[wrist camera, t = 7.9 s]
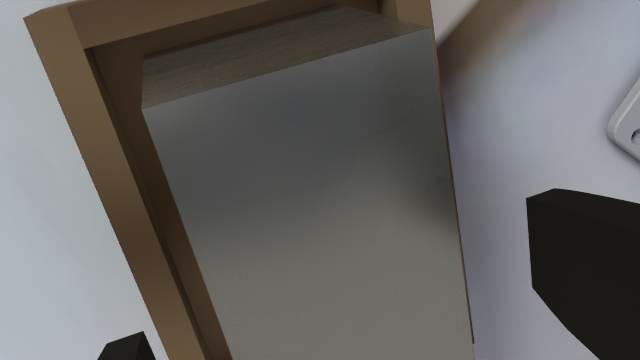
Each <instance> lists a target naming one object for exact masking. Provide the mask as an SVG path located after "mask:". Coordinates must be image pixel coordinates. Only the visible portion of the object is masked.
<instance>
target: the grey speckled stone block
mask: <svg viewBox="0 0 640 360" xmlns="http://www.w3.org/2000/svg"><path fill="white" fill-rule="evenodd" d="M141 110H142V113H143V115H144V118H145V121H146V124H147V126H148V129H149V132H150V135H151V137H152V140H153V143H154V145H155V148H156V151H157V154H158V156H159V159H160V162H161V165H162V167H163V170H164V173H165V175H166V178H167V181H168V184H169V186H170V189H171V192H172V195H173V197H174V200H175V203H176V206H177V208H178V211H179V214H180V216H181V219H182V222H183V225H184V227H185V230H186V233H187V236H188V238H189V241H190V244H191V246H192V249H193V252H194V255H195V257H196V260H197V263H198V266H199V268H200V271H201V274H202V276H203V279H204V282H205V285H206V287H207V290H208V293H209V296H210V298H211V301H212V304H213V307H214V309H215V312H216V315H217V317H218V320H219V323H220V326H221V328H222V331H223V334H224V337H225V339H226V342H227V345H228V347H229V350H230V353H231V356H232V358H233V360H475V358H474V351H473V343H472V335H471V328H470V320H469V312H468V305H467V297H466V289H465V282H464V274H463V267H462V259H461V251H460V244H459V236H458V228H457V221H456V213H455V205H454V198H453V190H452V182H451V175H450V167H449V159H448V152H447V144H446V136H445V129H444V121H443V113H442V106H441V98H440V90H439V83H438V75H437V67H436V60H435V52H434V44H433V37H432V29H431V27H428V26H424V25H420V24H416V23H412V22H408V21H404V20H400V19H396V18H392V17H388V16H384V15H380V14H376V13H371V12H367V11H363V10H359V9H355V8H351V7H347V6H343V5H339V4H331V5H328V6H324V7H320V8H316V9H313V10H309V11H305V12H301V13H298V14H294V15H290V16H287V17H283V18H279V19H275V20H272V21H268V22H264V23H260V24H257V25H253V26H249V27H246V28H242V29H238V30H234V31H231V32H227V33H223V34H219V35H216V36H212V37H208V38H204V39H201V40H197V41H193V42H190V43H186V44H182V45H178V46H175V47H171V48H167V49H163V50H160V51H156V52H152V53H149V54H145V55H144V65H143V87H142V108H141Z"/></svg>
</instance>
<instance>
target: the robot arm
mask: <svg viewBox="0 0 640 360" xmlns="http://www.w3.org/2000/svg"><path fill="white" fill-rule="evenodd" d="M634 131H636V133H635V135H634V137H633V138H632V139H631V137H632V134H633V132H634ZM607 136H608V137H609V139H610V140H611V141H613V142H614V143H616V144H617V145H618V146H620V147H621V148H622V149H624V150H625V151H626V152H628V153H629V154H631V155H632V156H633V157H635V158H636V159H637V160H639V161H640V78H639V79H638V80H637V82H636V83H635V85H634V86H633V88H632V89H631V90H630V92H629V93H628V95H627V96H626V97H625V99H624V100H623V102H622V103H621V105H620V106H619V107H618V109H617V110H616V112H615V113H614V115H613V116H612V117H611V119H610V121H609V123H608V125H607ZM526 205H527V219H528V233H529V248H530V262H531V276H532V288H533V289H534V290H535V291H536V293H537V294H538V295H539V296H540V298H541V299H542V300H543V301H544V303H545V304H546V305H547V306H548V308H549V309H550V310H551V311H552V312H553V313H554V315H555V316H556V317H557V318H558V319H559V320H560V322H561V323H562V324H563V325H564V326H565V327H566V328H567V329H568V330H569V331H570V332H571V333H572V334H573V335H574V336H575V337H576V338H577V339H578V340H579V341H580V342H581V343H582V344H584V345H585V346H586V347H587V348H588V349H589V350H590V351H591V352H592V353H593V354H594V355H595V356H596V357H598V358H599V359H600V360H640V204H639V203H634V202H629V201H624V200H619V199H615V198H610V197H605V196H600V195H595V194H590V193H584V192H579V191H572V190H565V189H556V188H554V189H551V190H549V191H546V192H543V193H540V194H537V195H534V196H531V197H528V198H526ZM97 360H156V359H155V356H154V354H153V352H152V350H151V347H150V345H149V343H148V340H147V338H146V336H145V334H144V331H142V332H139V333H136V334H133V335H130V336H127V337H125V338H122V339H119V340H116V341H113V342H110V343H107V344H106V346H105V347H104V349H103V351H102V352H101V354H100V356H99V358H98V359H97Z"/></svg>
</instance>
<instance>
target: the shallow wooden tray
mask: <svg viewBox="0 0 640 360" xmlns="http://www.w3.org/2000/svg"><path fill="white" fill-rule="evenodd" d="M331 4H339V5H343V6H347V7H351V8H355V9H359V10H363V11H367V12H371V13H376V14H380V15H384V16H388V17H392V18H396V19H400V20H404V21H408V22H412V23H416V24H420V25H424V26H428V27H431V29H432V37H433V44H434V52H435V60H436V67H437V75H438V83H439V90H440V98H441V106H442V113H443V121H444V129H445V136H446V144H447V152H448V159H449V167H450V175H451V182H452V190H453V198H454V205H455V213H456V221H457V228H458V236H459V244H460V251H461V259H462V267H463V274H464V282H465V289H466V297H467V305H468V312H469V320H470V328H471V335H472V343H473V344H474V337H473V329H472V322H471V314H470V306H469V298H468V291H467V283H466V275H465V267H464V260H463V252H462V244H461V236H460V229H459V221H458V213H457V205H456V198H455V190H454V182H453V174H452V167H451V159H450V151H449V143H448V136H447V128H446V120H445V112H444V105H443V97H442V89H441V81H440V74H439V66H438V58H437V50H436V43H435V35H434V27H433V19H432V12H431V4H430V0H77V1H73V2H69V3H65V4H61V5H57V6H53V7H49V8H45V9H41V10H39V11H37V12H35V13H33V14H31V15H29V16H27V17H25V18H23V20H24V22H25V24H26V27H27V29H28V31H29V34H30V36H31V38H32V41H33V43H34V45H35V48H36V50H37V52H38V55H39V57H40V59H41V62H42V64H43V66H44V69H45V71H46V73H47V76H48V78H49V80H50V83H51V85H52V87H53V90H54V92H55V94H56V97H57V99H58V101H59V104H60V106H61V108H62V111H63V113H64V115H65V118H66V120H67V122H68V125H69V127H70V129H71V132H72V134H73V136H74V139H75V141H76V143H77V146H78V148H79V150H80V153H81V155H82V157H83V160H84V162H85V164H86V167H87V169H88V171H89V174H90V176H91V178H92V181H93V183H94V185H95V188H96V190H97V192H98V195H99V197H100V199H101V202H102V204H103V206H104V209H105V211H106V213H107V216H108V218H109V220H110V223H111V225H112V227H113V230H114V232H115V234H116V237H117V239H118V241H119V244H120V246H121V248H122V251H123V253H124V255H125V258H126V260H127V262H128V265H129V267H130V269H131V272H132V274H133V276H134V279H135V281H136V283H137V286H138V288H139V290H140V293H141V295H142V297H143V300H144V302H145V304H146V307H147V309H148V311H149V314H150V316H151V318H152V321H153V323H154V325H155V328H156V330H157V332H158V335H159V337H160V339H161V342H162V344H163V346H164V349H165V351H166V353H167V356H168V358H169V360H233V358H232V356H231V353H230V350H229V347H228V345H227V342H226V339H225V337H224V334H223V331H222V328H221V326H220V323H219V320H218V317H217V315H216V312H215V309H214V307H213V304H212V301H211V298H210V296H209V293H208V290H207V287H206V285H205V282H204V279H203V276H202V274H201V271H200V268H199V266H198V263H197V260H196V257H195V255H194V252H193V249H192V246H191V244H190V241H189V238H188V236H187V233H186V230H185V227H184V225H183V222H182V219H181V216H180V214H179V211H178V208H177V206H176V203H175V200H174V197H173V195H172V192H171V189H170V186H169V184H168V181H167V178H166V175H165V173H164V170H163V167H162V165H161V162H160V159H159V156H158V154H157V151H156V148H155V145H154V143H153V140H152V137H151V135H150V132H149V129H148V126H147V124H146V121H145V118H144V115H143V113H142V110H141V108H142V87H143V65H144V55H145V54H149V53H152V52H156V51H160V50H163V49H167V48H171V47H175V46H178V45H182V44H186V43H190V42H193V41H197V40H201V39H204V38H208V37H212V36H216V35H219V34H223V33H227V32H231V31H234V30H238V29H242V28H246V27H249V26H253V25H257V24H260V23H264V22H268V21H272V20H275V19H279V18H283V17H287V16H290V15H294V14H298V13H301V12H305V11H309V10H313V9H316V8H320V7H324V6H328V5H331Z"/></svg>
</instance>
